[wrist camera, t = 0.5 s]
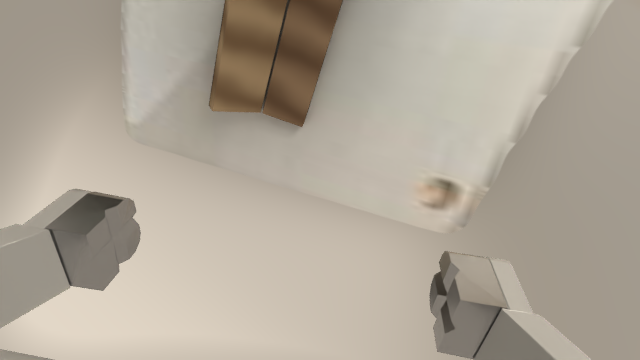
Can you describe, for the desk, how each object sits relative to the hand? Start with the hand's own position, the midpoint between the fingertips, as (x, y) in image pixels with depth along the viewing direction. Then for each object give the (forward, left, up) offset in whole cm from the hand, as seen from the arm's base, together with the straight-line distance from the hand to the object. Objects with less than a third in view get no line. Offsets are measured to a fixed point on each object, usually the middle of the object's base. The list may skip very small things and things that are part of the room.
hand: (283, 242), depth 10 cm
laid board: (+6, -5, -43) cm, 43 cm away
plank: (+6, -12, -40) cm, 42 cm away
